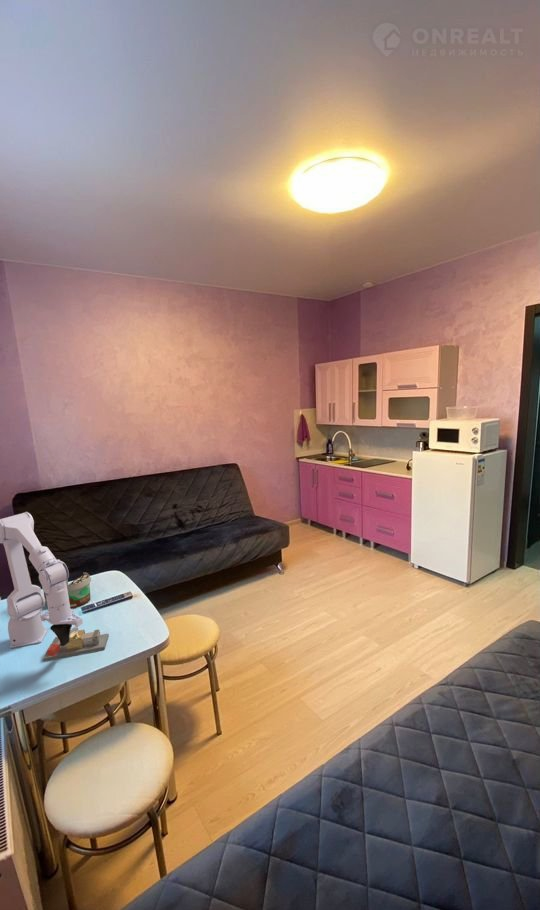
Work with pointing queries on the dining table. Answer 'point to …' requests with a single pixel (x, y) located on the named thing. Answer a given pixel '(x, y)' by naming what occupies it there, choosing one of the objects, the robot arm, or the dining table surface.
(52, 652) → the valve lever
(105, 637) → the board
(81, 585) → the food container
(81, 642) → the pipe and valve
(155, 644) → the dining table surface
